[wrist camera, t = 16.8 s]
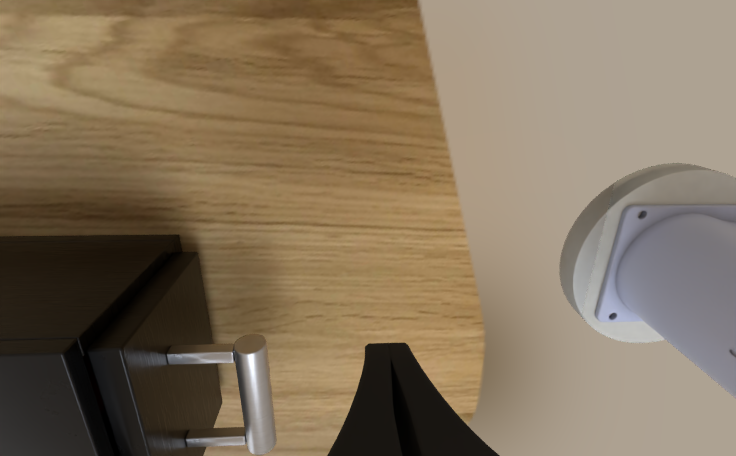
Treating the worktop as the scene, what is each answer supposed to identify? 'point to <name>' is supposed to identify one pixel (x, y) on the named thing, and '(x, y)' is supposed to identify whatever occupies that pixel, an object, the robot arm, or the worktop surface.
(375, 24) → the worktop surface
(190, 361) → the drawer
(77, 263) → the cabinet
